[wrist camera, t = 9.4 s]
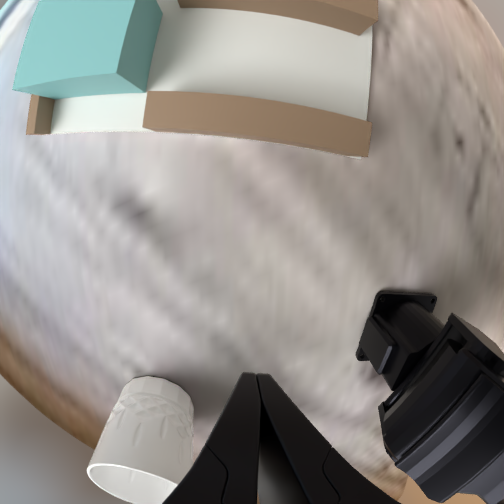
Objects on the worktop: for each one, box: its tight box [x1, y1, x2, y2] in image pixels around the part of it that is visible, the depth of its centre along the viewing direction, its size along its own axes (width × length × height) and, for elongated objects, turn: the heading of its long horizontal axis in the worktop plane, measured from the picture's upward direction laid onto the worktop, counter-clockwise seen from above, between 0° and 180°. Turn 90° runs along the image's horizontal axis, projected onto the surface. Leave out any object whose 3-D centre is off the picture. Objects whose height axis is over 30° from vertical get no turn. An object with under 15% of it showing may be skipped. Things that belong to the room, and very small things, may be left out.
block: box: [12, 0, 163, 100], centre depth 11 cm, size 7×6×5 cm
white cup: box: [87, 376, 194, 504], centre depth 19 cm, size 8×8×10 cm
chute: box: [26, 0, 378, 159], centre depth 13 cm, size 22×11×4 cm, turn 82°
